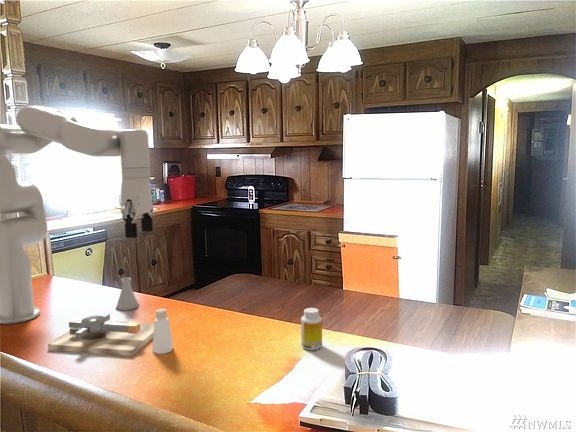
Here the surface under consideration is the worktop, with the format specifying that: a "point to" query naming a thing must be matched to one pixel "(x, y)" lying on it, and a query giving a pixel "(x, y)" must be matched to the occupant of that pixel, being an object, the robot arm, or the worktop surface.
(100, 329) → the capstan
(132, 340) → the wooden flat board
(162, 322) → the pepper shaker
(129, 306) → the flask
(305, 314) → the supplement bottle
